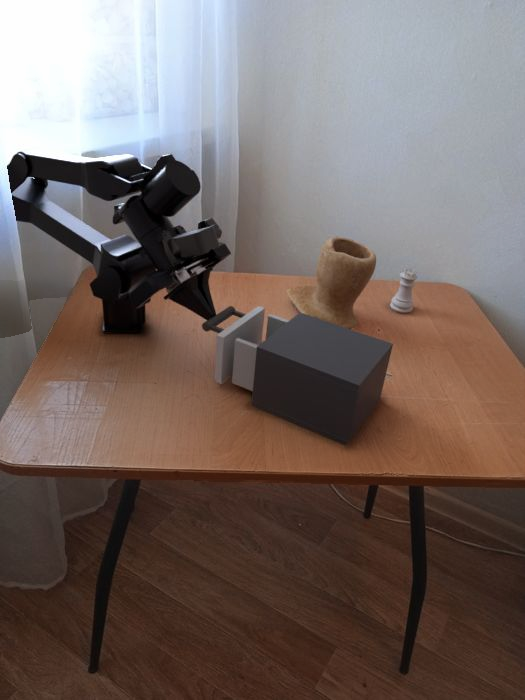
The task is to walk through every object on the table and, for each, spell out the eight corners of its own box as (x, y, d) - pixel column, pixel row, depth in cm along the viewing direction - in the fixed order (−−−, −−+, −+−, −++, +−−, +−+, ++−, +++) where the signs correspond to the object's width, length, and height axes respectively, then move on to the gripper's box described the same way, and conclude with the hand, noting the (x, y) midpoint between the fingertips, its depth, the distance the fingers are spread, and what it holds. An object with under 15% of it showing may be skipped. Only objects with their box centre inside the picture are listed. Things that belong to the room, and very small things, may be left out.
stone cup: (374, 334, 100) (391, 256, 93) (312, 339, 97) (325, 258, 89) (339, 297, 113) (352, 224, 105) (284, 300, 109) (292, 226, 101)
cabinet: (251, 405, 79) (256, 346, 74) (292, 366, 89) (299, 312, 84) (346, 446, 74) (359, 385, 69) (379, 399, 83) (393, 343, 78)
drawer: (191, 371, 84) (192, 325, 80) (233, 340, 92) (236, 297, 88) (295, 415, 77) (303, 367, 73) (330, 377, 86) (338, 333, 81)
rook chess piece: (415, 308, 111) (424, 271, 107) (407, 316, 108) (417, 278, 104) (394, 301, 113) (402, 264, 109) (386, 309, 110) (394, 271, 106)
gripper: (142, 219, 71) (210, 321, 73) (223, 190, 86) (279, 276, 87) (100, 261, 79) (163, 353, 80) (181, 228, 93) (234, 307, 94)
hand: (213, 320), depth 85 cm, fingers closed, pressing on drawer
